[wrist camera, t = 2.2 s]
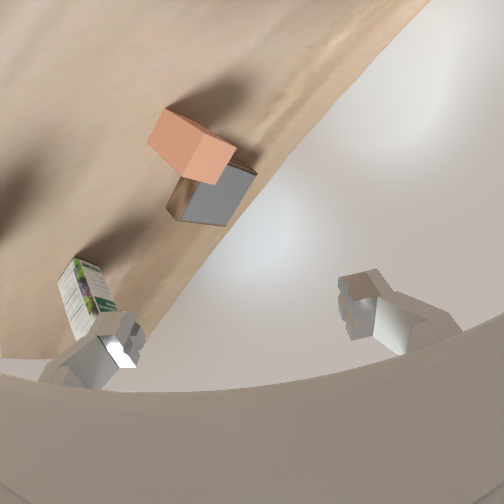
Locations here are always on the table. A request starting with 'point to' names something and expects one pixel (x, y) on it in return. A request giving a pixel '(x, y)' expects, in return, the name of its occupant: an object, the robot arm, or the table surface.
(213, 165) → the terracotta block
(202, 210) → the walnut plinth
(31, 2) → the table surface
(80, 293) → the syrup box
